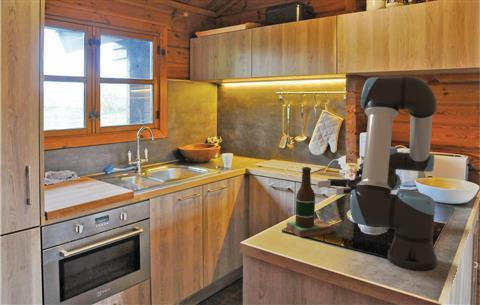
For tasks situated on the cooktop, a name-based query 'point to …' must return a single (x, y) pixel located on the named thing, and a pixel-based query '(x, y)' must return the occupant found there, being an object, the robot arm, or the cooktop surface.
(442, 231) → the cooktop surface
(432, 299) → the cooktop surface
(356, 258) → the cooktop surface
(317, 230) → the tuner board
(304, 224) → the beer bottle
